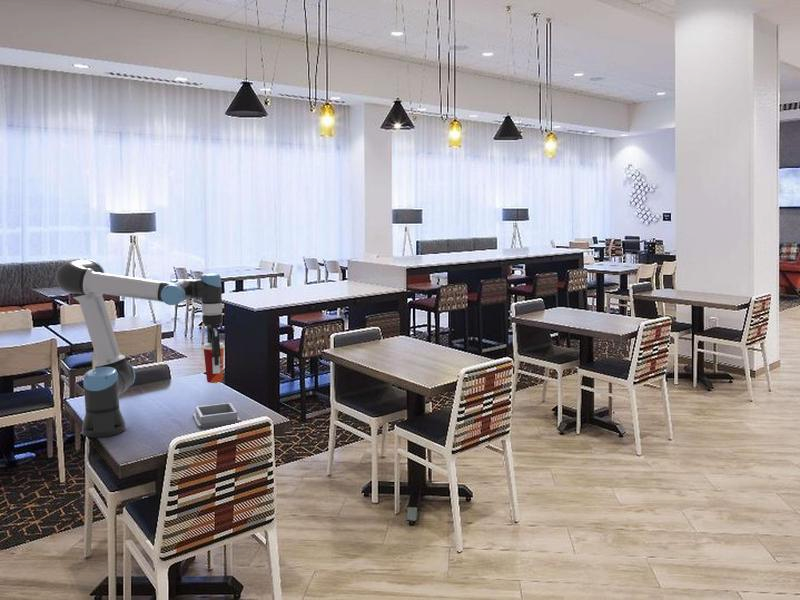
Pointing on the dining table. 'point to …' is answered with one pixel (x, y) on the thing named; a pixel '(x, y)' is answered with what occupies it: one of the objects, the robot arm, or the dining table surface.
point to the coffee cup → (209, 366)
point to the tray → (215, 415)
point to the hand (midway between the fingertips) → (214, 370)
